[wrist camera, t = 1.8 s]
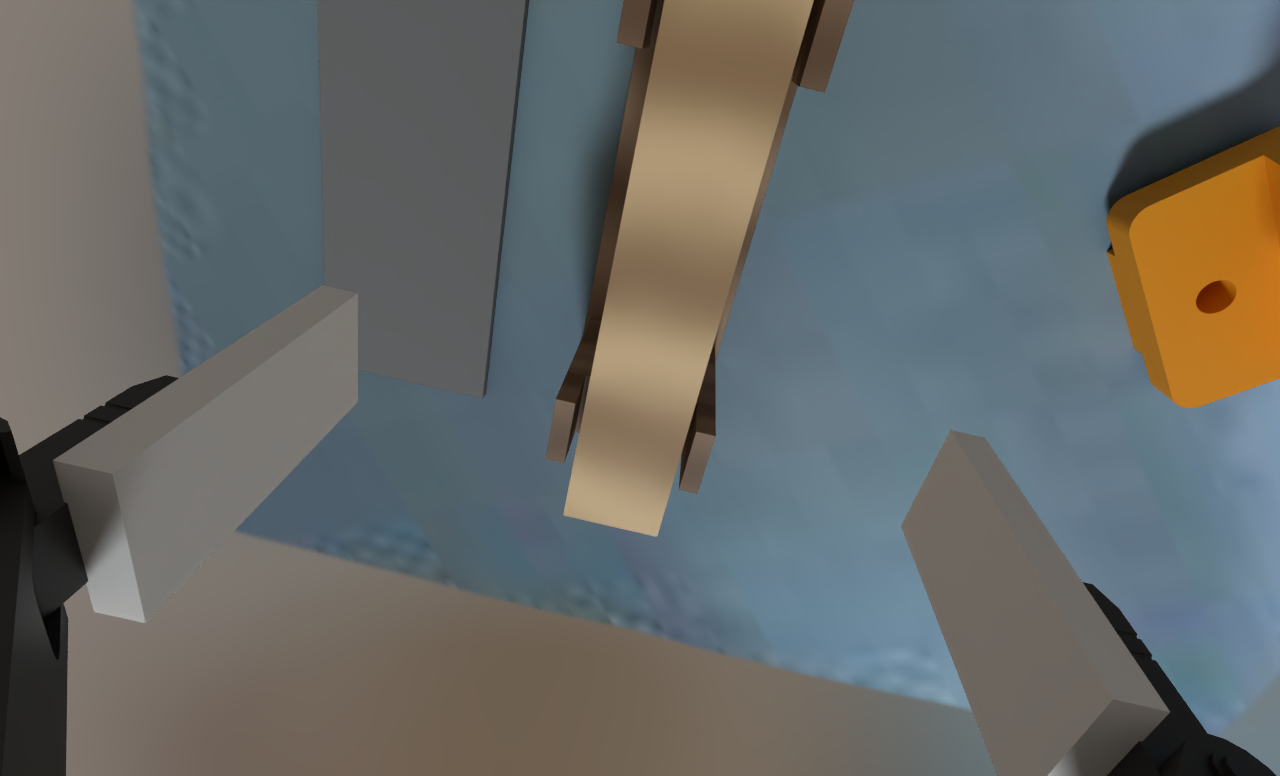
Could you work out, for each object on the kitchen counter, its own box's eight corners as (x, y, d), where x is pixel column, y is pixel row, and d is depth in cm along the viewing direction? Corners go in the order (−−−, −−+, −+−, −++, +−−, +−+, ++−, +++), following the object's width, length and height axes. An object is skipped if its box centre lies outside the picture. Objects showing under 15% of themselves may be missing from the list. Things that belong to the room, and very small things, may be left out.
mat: (319, -236, 25) (311, -241, 25) (548, -179, 26) (545, -184, 25) (332, 357, 38) (326, 362, 37) (485, 393, 38) (482, 398, 38)
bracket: (663, -87, 27) (640, -140, 18) (833, -46, 27) (886, -80, 18) (576, 383, 37) (536, 485, 29) (697, 412, 37) (693, 521, 29)
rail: (695, -110, 20) (691, -139, 17) (821, -79, 21) (843, -102, 17) (580, 460, 31) (563, 515, 28) (663, 479, 31) (657, 536, 28)
